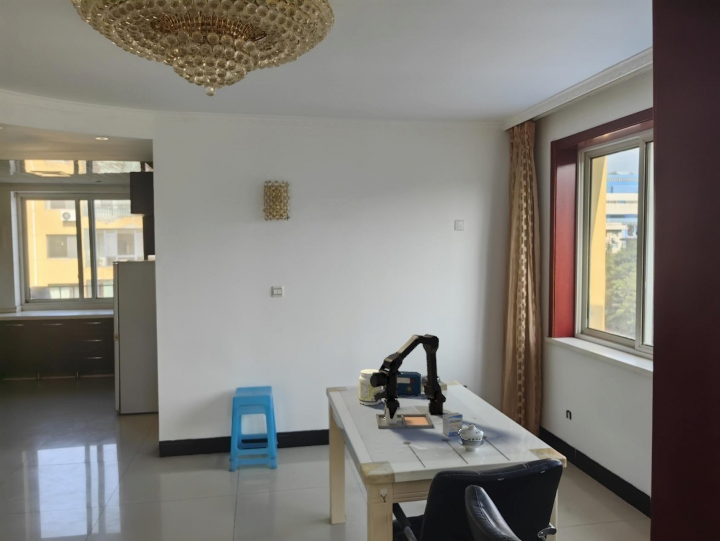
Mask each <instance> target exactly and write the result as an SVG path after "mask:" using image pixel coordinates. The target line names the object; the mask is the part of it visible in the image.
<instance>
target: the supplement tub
mask: <svg viewBox="0 0 720 541" xmlns="http://www.w3.org/2000/svg"><path fill="white" fill-rule="evenodd" d="M373 372H379V369H374V368H366V369H365V368H364V369H361V370H360V376H359V377H358V402H359V403H360V404H361V405H363V404H364V406H377V405H380V404H381V402H382V399H380V400H378V401H375V398H374V396H373V392H376V391H379V390H382V386H381V387H375V388H373V387H372V386H371V384H370V378H371V376H372V375H373ZM379 403H380V404H379Z"/></svg>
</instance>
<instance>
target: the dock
mask: <svg viewBox="0 0 720 541" xmlns="http://www.w3.org/2000/svg"><path fill="white" fill-rule="evenodd" d="M384 417H385V414H384V413H376V414H375V418H376V423H377V428H378V429H380V430H381V429H383V428H384V429H386V428H388V429H433V428H434V424H433V423H432V420H431V419H430V416H429V415H428V413H397V424H386V422H385V420H383V419H385V418H384Z"/></svg>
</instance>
